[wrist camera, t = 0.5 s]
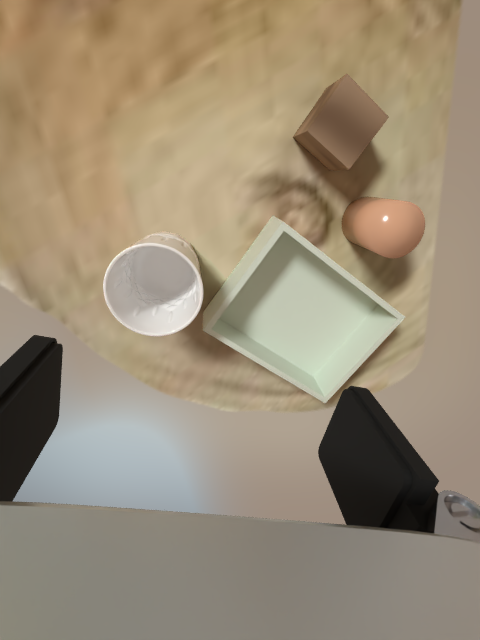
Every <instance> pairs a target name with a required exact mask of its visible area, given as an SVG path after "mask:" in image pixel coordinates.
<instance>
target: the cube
mask: <svg viewBox="0 0 480 640" xmlns="http://www.w3.org/2000/svg"><path fill="white" fill-rule="evenodd" d="M388 118H389V117H388V116H387V115H386V114H385V112H384V111H383V110H382V109H381V108H380V107H379V106H378V105H377V104H376V103H375V102H374V101H373V100H372V99H371V98H370V97H369V96H368V95H367V94H366V93H365V92H364V91H363V90H362V89H361V88H360V86H359V85H358V84H357V83H356V82H355V81H354V80H353V79H352V78H351V77H350V76H349V75H348V74H346V75H344V76H343V77H342V78H340V79H339V80H337V81H336V82H335V83H333V84H332V85H330V86H329V87H328V88H326V90H325V91H324V93H323V94H322V95H321V97H320V98H319V100H318V101H317V103H316V104H315V106H314V107H313V109H312V110H311V111H310V113H309V114H308V116H307V117H306V119H305V120H304V122H303V123H302V125H301V126H300V127H299V129H298V130H297V132H296V133H295V135H294V136H293V138H294V139H295V140H296V141H298V142H299V143H300V144H301V145H302V146H303V147H304V148H305V149H307V150H308V151H309V152H310V153H311V154H312V155H313V156H314V157H315V158H317V159H318V160H319V161H320V162H321V163H322V164H323V165H324V166H326V167H327V168H328V169H329V170H349V169H350V168H351V166H352V165H353V164H354V162H355V161H356V160H357V159H358V157H359V156H360V155H361V153H362V152H363V151H364V149H365V148H366V147H367V145H368V144H369V143H370V141H371V140H372V139H373V137H374V136H375V135H376V133H377V132H378V131H379V130H380V128H381V127H382V126H383V124H384V123H385V122H386V120H387V119H388Z"/></svg>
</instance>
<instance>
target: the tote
mask: <svg viewBox="0 0 480 640" xmlns="http://www.w3.org/2000/svg"><path fill="white" fill-rule="evenodd" d="M404 318H405V316H403V315H402V314H401V313H399V312H398V311H397V310H396V309H394V308H393V307H392V306H390V305H389V304H388V303H387V302H385V301H384V300H383V299H382V298H380V297H379V296H378V295H376V294H375V293H374V292H373V291H371V290H370V289H369V288H367V287H366V286H365V285H364V284H362V283H361V282H360V281H359V280H357V279H356V278H355V277H353V276H352V275H351V274H350V273H348V272H347V271H346V270H344V269H343V268H342V267H341V266H339V265H338V264H337V263H336V262H334V261H333V260H332V259H330V258H329V257H328V256H327V255H325V254H324V253H323V252H321V251H320V250H319V249H318V248H316V247H315V246H314V245H312V244H311V243H310V242H309V241H307V240H306V239H305V238H304V237H302V236H301V235H300V234H298V233H297V232H296V231H295V230H293V229H292V228H291V227H289V226H288V225H287V224H286V223H284V222H283V221H281V220H280V219H278V218H276V217H274V216H272V217H271V218H270V220H269V221H268V223H267V224H266V225H265V227H264V228H263V230H262V231H261V232H260V234H259V235H258V237H257V238H256V239H255V241H254V242H253V243H252V245H251V246H250V248H249V249H248V250H247V252H246V253H245V255H244V256H243V257H242V259H241V260H240V262H239V263H238V264H237V266H236V267H235V268H234V270H233V271H232V273H231V274H230V275H229V277H228V278H227V280H226V281H225V282H224V284H223V285H222V287H221V288H220V289H219V291H218V292H217V293H216V295H215V296H214V298H213V299H212V300H211V302H210V303H209V305H208V306H207V307H206V309H205V310H204V312H203V331H204V332H206V333H208V334H209V335H211V336H213V337H214V338H216V339H218V340H219V341H221V342H223V343H224V344H226V345H228V346H230V347H231V348H233V349H235V350H236V351H238V352H240V353H241V354H243V355H245V356H246V357H248V358H250V359H251V360H253V361H255V362H256V363H258V364H260V365H262V366H263V367H265V368H267V369H268V370H270V371H272V372H273V373H275V374H277V375H278V376H280V377H282V378H283V379H285V380H287V381H288V382H290V383H292V384H294V385H295V386H297V387H299V388H300V389H302V390H304V391H305V392H307V393H309V394H310V395H312V396H314V397H315V398H317V399H319V400H320V401H322V402H324V403H326V402H327V401H328V400H329V399H330V398H331V397H332V396H333V395H334V394H335V392H336V391H337V390H338V389H339V388H340V387H341V386H342V385H343V384H344V383H345V382H346V381H347V380H348V379H349V377H350V376H351V375H352V374H353V373H354V372H355V371H356V370H357V369H358V368H359V367H360V366H361V365H362V363H363V362H364V361H365V360H366V359H367V358H368V357H369V356H370V355H371V354H372V353H373V352H374V351H375V350H376V348H377V347H378V346H379V345H380V344H381V343H382V342H383V341H384V340H385V339H386V338H387V337H388V336H389V335H390V333H391V332H392V331H393V330H394V329H395V328H396V327H397V326H398V325H399V324H400V323H401V322H402V321H403V319H404Z"/></svg>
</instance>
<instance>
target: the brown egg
mask: <svg viewBox="0 0 480 640" xmlns="http://www.w3.org/2000/svg"><path fill="white" fill-rule="evenodd" d="M424 230H425V218H424V215H423V213H422V211H421V209H420V208H419V207H418V206H417V205H415V204H413V203H411V202H407V201H399V200H391V199H383V198H375V197H362V198H359V199H357V200H355V201H354V202H352V203H351V204H350V205H349V206H348V207H347V209H346V210H345V212H344V215H343V218H342V231H343V233H344V235H345V237H346V238H347V239H348V240H349V241H351V242H353V243H355V244H357V245H359V246H361V247H364V248H366V249H368V250H370V251H373V252H375V253H377V254H379V255H381V256H384V257H387V258H399V257H402V256H404V255H406V254H408V253H410V252H411V251H412V250H413V249H414V248H415V247H416V246H417V245H418V244H419V242H420V240H421V238H422V236H423V234H424Z"/></svg>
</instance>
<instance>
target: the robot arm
mask: <svg viewBox="0 0 480 640" xmlns="http://www.w3.org/2000/svg"><path fill="white" fill-rule="evenodd" d="M62 351H63V348H62V345H61V344H57V341H56V339H55V338H49V337H44V336H38V335H34V336H32V337H31V338H30V339H29V340H28V341H27V342H26V343H25V344H24V345H23V346H22V347H21V348H20V349H19V350H18V351H16V352H15V353H14V354H13V355H12V356H11V357H10V358H9V359H8V360H7V361H6V362H5V363H4V364H3V365H2V366H0V640H480V506H479V505H478V504H476V503H475V502H474V501H472V500H470V499H469V498H468V497H466V496H464V495H462V494H460V493H457V492H454V491H448V490H447V491H445V490H444V491H442V492H440V493H439V494H438V492H437V491H436V490H435V487H436V485H437V484H438V482H439V480H438V479H437V478H436V476H435V475H434V474H433V473H432V471H431V470H430V469H429V467H428V466H427V465H426V463H425V462H424V461H423V460H422V458H421V457H420V456H419V455H418V453H417V452H416V451H415V449H414V448H413V447H412V445H411V444H410V443H409V442H408V440H407V439H406V438H405V436H404V435H403V434H402V432H401V431H400V430H399V429H398V427H397V426H396V425H395V423H394V422H393V421H392V420H391V418H390V417H389V416H388V414H387V413H386V412H385V410H384V409H383V408H382V407H381V405H380V404H379V403H378V401H377V400H376V399H375V398H374V396H373V395H372V394H371V392H370V391H369V390H368V389H366V388H361V387H355V386H350V387H349V388H348V389H345V390H344V391H343V392H342V394H341V397H340V399H339V401H338V404H337V406H336V409H335V411H334V413H333V415H332V418H331V420H330V423H329V425H328V427H327V430H326V432H325V434H324V437H323V439H322V441H321V444H320V446H319V451H318V454H319V459H320V461H321V463H322V466H323V468H324V471H325V473H326V476H327V478H328V481H329V483H330V485H331V488H332V490H333V493H334V495H335V498H336V500H337V502H338V505H339V507H340V510H341V512H342V515H343V517H344V520H345V522H346V524H347V525H341V524H329V523H317V522H305V521H291V520H279V519H267V518H254V517H240V516H227V515H214V514H200V513H187V512H173V511H159V510H144V509H130V508H116V507H101V506H86V505H71V504H54V503H36V502H34V503H33V502H12V501H13V499H14V497H15V496H16V494H17V492H18V490H19V489H20V487H21V485H22V484H23V482H24V480H25V478H26V477H27V475H28V473H29V472H30V470H31V468H32V467H33V465H34V463H35V461H36V460H37V458H38V456H39V455H40V453H41V451H42V449H43V447H44V446H45V444H46V443H47V441H48V439H49V437H50V436H51V434H52V432H53V430H54V429H55V427H56V425H57V422H58V418H59V406H60V388H61V369H62Z"/></svg>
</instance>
